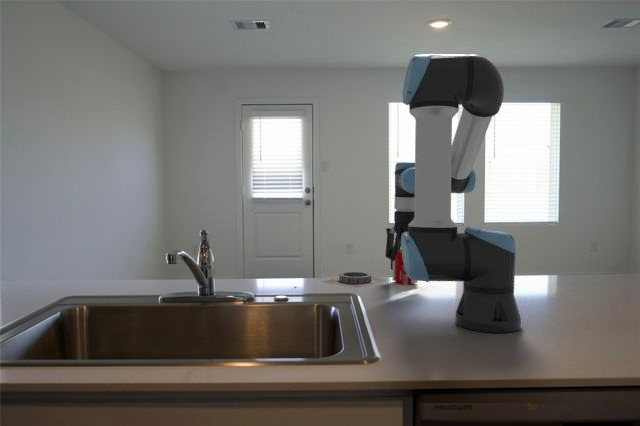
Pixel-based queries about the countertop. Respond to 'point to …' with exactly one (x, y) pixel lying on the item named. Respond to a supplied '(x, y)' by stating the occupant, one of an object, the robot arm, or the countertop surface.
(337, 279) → the walnut base board
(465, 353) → the countertop surface
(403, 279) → the soda can
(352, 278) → the gray segmented ring
